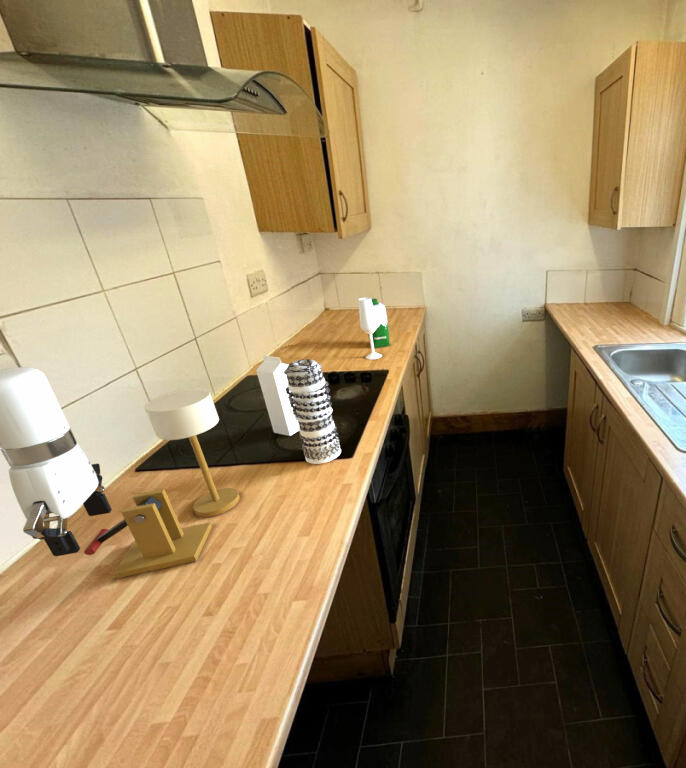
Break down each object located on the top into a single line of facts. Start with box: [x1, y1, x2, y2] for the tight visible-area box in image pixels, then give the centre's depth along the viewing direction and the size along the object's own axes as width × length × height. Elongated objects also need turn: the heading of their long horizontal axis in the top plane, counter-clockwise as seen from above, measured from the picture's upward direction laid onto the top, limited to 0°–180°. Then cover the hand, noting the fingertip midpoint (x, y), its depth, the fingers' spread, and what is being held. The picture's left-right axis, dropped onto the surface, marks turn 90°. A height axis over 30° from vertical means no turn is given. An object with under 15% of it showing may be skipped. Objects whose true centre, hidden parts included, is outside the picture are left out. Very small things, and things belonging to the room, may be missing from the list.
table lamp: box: [144, 387, 240, 518], centre depth 84 cm, size 10×10×25 cm
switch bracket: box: [112, 488, 213, 580], centre depth 74 cm, size 12×9×12 cm
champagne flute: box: [357, 297, 383, 360], centre depth 167 cm, size 7×7×24 cm
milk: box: [255, 355, 300, 437], centre depth 113 cm, size 6×6×22 cm
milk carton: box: [367, 298, 390, 349], centre depth 182 cm, size 9×9×20 cm
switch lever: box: [83, 496, 162, 556], centre depth 72 cm, size 12×5×2 cm, turn 108°
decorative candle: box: [284, 358, 342, 465], centre depth 101 cm, size 9×9×25 cm
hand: (85, 532), depth 71 cm, fingers open, 9 cm apart
